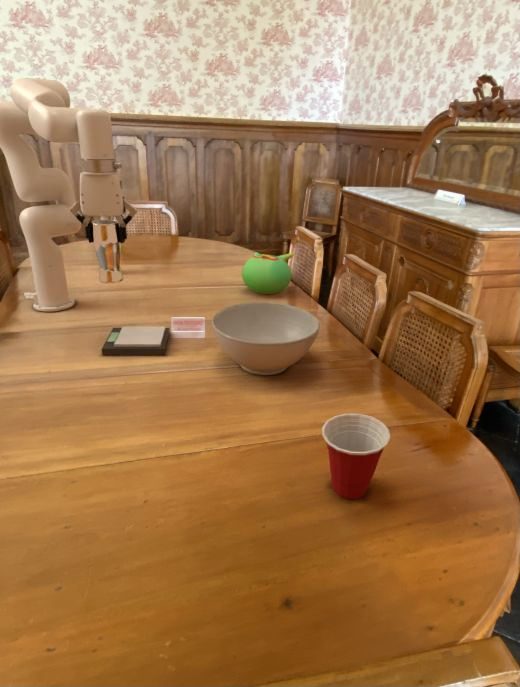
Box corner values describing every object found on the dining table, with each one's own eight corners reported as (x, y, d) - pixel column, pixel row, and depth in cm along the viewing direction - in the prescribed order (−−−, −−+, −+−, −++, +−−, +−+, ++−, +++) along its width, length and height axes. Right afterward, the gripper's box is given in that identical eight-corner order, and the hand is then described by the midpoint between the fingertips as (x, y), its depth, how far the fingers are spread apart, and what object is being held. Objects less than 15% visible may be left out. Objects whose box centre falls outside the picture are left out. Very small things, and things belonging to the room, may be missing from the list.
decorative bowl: (325, 351, 129) (329, 310, 124) (301, 399, 106) (305, 351, 101) (235, 335, 137) (235, 296, 131) (193, 377, 114) (192, 331, 108)
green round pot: (234, 295, 169) (235, 255, 163) (252, 282, 183) (253, 245, 177) (281, 302, 163) (283, 261, 157) (296, 289, 177) (299, 250, 171)
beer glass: (117, 285, 119) (111, 225, 113) (92, 282, 121) (84, 223, 114) (129, 277, 126) (124, 220, 119) (105, 275, 127) (99, 218, 121)
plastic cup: (310, 467, 85) (316, 411, 80) (369, 465, 86) (378, 410, 81) (323, 512, 75) (330, 452, 70) (388, 509, 76) (400, 450, 71)
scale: (102, 355, 123) (101, 345, 122) (113, 333, 135) (112, 324, 134) (164, 355, 124) (163, 345, 123) (170, 333, 137) (169, 325, 135)
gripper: (139, 166, 115) (144, 239, 123) (66, 165, 114) (76, 238, 122) (133, 169, 109) (139, 245, 116) (56, 167, 108) (67, 244, 115)
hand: (107, 241), depth 119 cm, fingers closed on beer glass, 7 cm apart
